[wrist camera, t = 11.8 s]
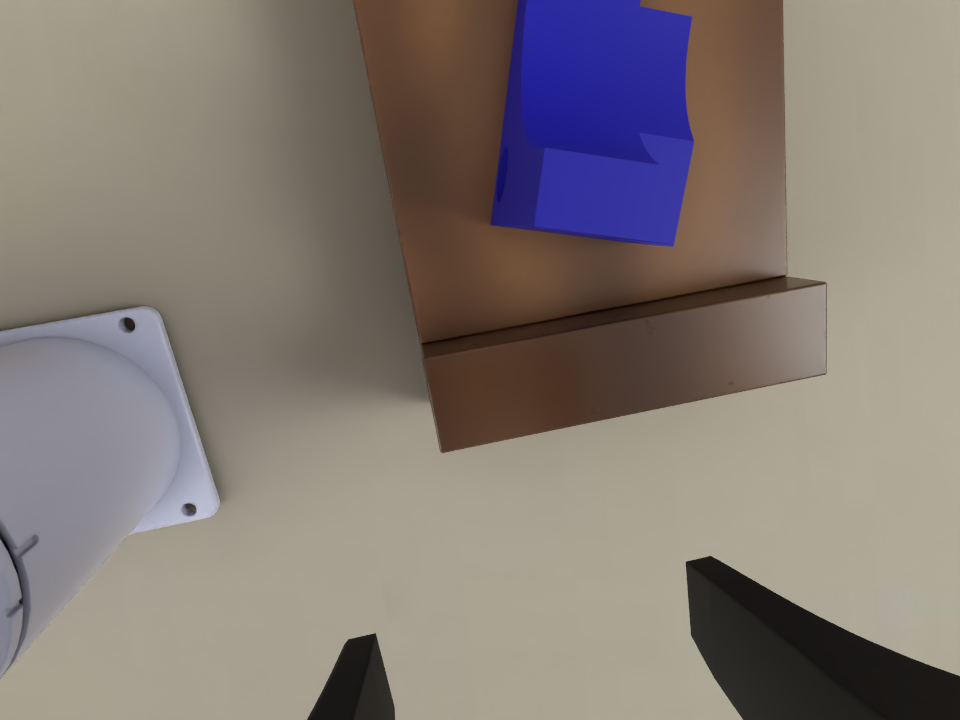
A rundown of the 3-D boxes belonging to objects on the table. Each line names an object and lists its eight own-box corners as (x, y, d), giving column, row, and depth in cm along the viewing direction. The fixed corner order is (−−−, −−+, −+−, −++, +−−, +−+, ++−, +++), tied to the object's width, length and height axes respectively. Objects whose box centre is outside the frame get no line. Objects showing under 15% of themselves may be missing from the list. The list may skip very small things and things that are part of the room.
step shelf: (433, 403, 21) (440, 454, 17) (280, -377, 15) (225, -639, 11) (739, 343, 22) (827, 374, 18) (710, -409, 16) (830, -661, 12)
